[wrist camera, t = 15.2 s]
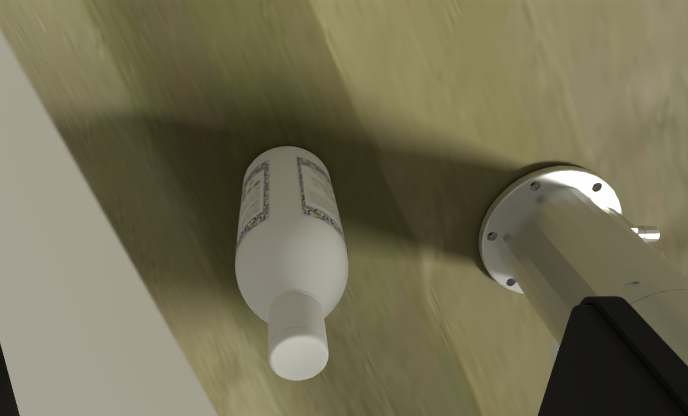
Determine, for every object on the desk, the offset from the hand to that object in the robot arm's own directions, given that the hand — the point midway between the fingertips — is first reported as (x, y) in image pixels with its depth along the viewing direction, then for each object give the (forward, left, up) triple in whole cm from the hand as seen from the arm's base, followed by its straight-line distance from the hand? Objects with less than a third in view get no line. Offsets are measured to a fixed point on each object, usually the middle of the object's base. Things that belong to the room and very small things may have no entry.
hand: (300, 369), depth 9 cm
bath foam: (-1, +12, -34) cm, 36 cm away
